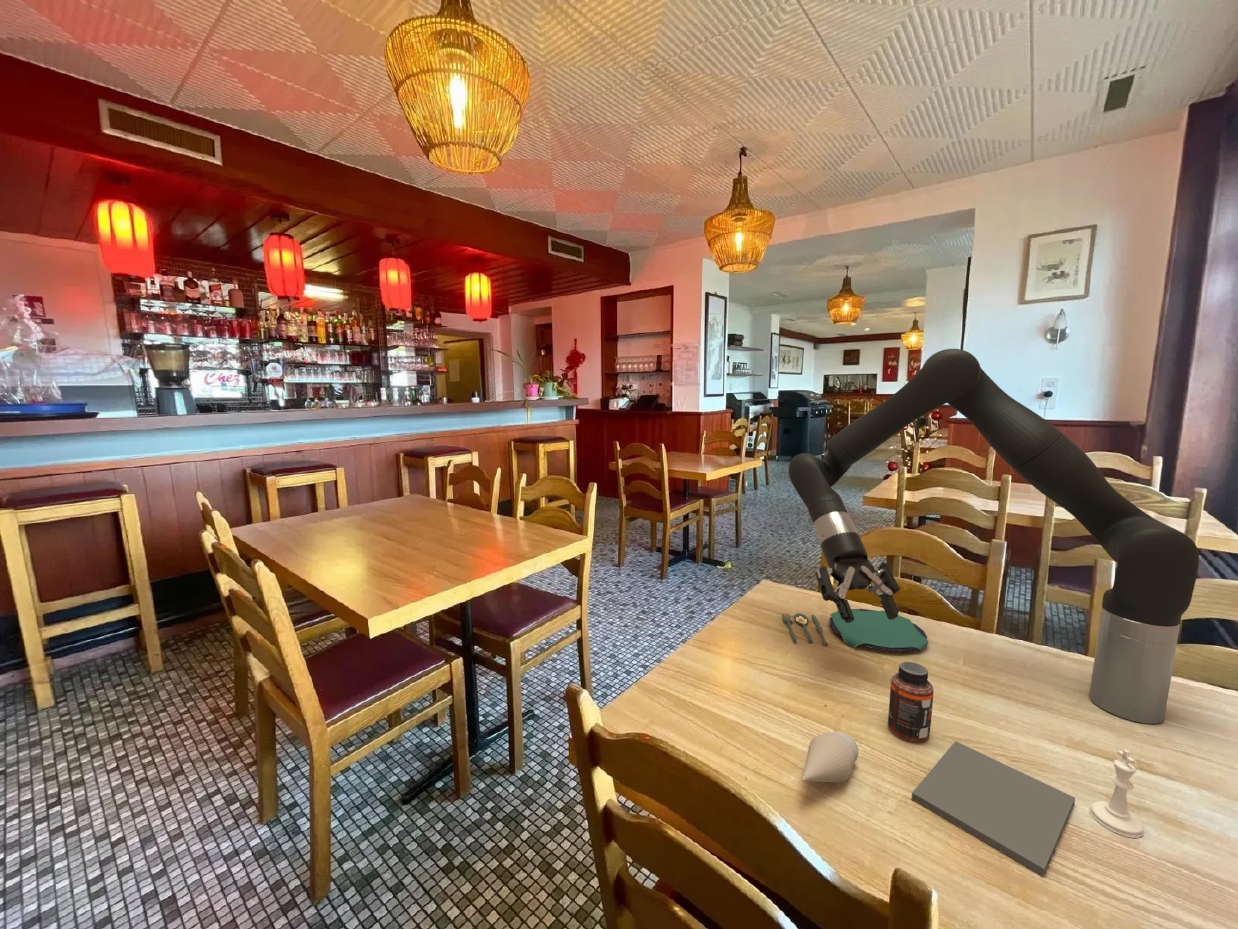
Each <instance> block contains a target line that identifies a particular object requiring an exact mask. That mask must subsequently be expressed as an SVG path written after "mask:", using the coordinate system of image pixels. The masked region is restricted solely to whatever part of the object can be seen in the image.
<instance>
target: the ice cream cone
mask: <svg viewBox="0 0 1238 929" xmlns="http://www.w3.org/2000/svg"><path fill="white" fill-rule="evenodd" d="M808 745H809V746H808V748H807V753H806V754H807V755H806V758H805V763H804V768H803V773H802V777H801V782H820V783H821V782H824V783H841V782H845V781H846V780H847V779H849V777H850V774H851V772H852V770H853V769H854V766H855V763H856V761H857V760H858V758H859V747H858V745H857V742H856V741H855V739H854V738H853V737H852V736H851V735H850V734H848V733H847V732H844V731H841V730H836V731H832V732H826V733H823V734H820V735H817V736H814V737H813V738H812V739H811V740H810V743H809V744H808Z"/></svg>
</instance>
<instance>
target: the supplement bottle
mask: <svg viewBox="0 0 1238 929" xmlns="http://www.w3.org/2000/svg"><path fill="white" fill-rule="evenodd" d="M928 678H929V670H928V668H926V667H925V666H924V665H922V664H920V663H917V662H915V661H914V662H913V661H902V662H900V663H899V665H898V671H897V672H896V673H894V674H893V675H892V676H891V680H890V687H889V688H890V692H889V702H888V703H889V705H888V714H887V716H888V717H887V726H888V728H889V730H890V731H891V732H892V733H893V734H894V735H895V736H896V737H898V738H900V739H902V740H905V741H908V742H911V743H925V742H926V741H928V740H929V739H930V734H931V727H932V714H933V702H934V692H935V691H934V689H935V688H934V685H933V684H932V683H931V682H930V681H929V680H928Z"/></svg>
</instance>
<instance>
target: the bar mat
mask: <svg viewBox="0 0 1238 929" xmlns="http://www.w3.org/2000/svg"><path fill="white" fill-rule="evenodd" d="M911 800H912V801H914V802H915V803H917V804H918V805H921V806H923V807H924V808H926V809H928V810H929V811H932V812H933V813H934V814H936V815H938V816H939V817H941V818H943V819H945V820H947V822H949V823H951V824H953V825H955V826H957V827H958V828H960V829H962V830H963V831H965V832H967V833H968V834H970V835H972V836H974V837H975V838H977V839H979V840H980V841H982V842H983V843H986V844H987V845H989V846H990V847H993V848H994V849H996V850H997V851H998V852H1000V853H1002V854H1004V855H1005V856H1007V857H1009V858H1011V859H1012V860H1014V861H1016V862H1018V863H1019V864H1021V865H1022V866H1024V867H1025V868H1028V869H1029V870H1031V871H1033V872H1034V873H1036V874H1038V875H1039V876H1041V877H1045V874H1046V873H1047V870H1048V868H1049V864H1050V862H1051V860H1052V858H1053V855H1054V853H1055V851H1056V849H1057V845H1058V843H1059V841H1060V840H1061V837H1062V834H1063V832H1064V831H1065V830H1064V829H1065V827H1066V825H1067V823H1068V820H1069V819H1070V816H1071V813H1072V811H1073V808H1074V806H1075V802H1076V797H1075V796H1072V795H1070V794H1068V793H1066V792H1065V791H1062V790H1059V789H1058V788H1056V787H1054V786H1052V785H1050V784H1047V783H1045V782H1042V781H1041V780H1039V779H1036V778H1034V777H1032V776H1030V775H1028V774H1026V773H1024V772H1022V771H1019V770H1017V769H1016V768H1013V767H1012V766H1009V765H1008V764H1005V763H1003V762H1001V761H1000V760H996V759H994V758H992V757H990V756H988V755H986V754H984V753H982V752H980V751H977V750H975V749H973V748H972V747H969V746H967V745H966V744H963V743H961V742H959V741H956V740H955V741H954V742H953V743H952V744H951V746H950V747H949V748H948V749H947V750H946V752H945V753H944V754H943V755H942V756H941V758H940V759H939V760H937V763H936V764H935V765H934V766H933V767H932V768H931V770H930V771H929V772H928V773H927V775H926V776H924V778H923V779H922V781H920V783H919V784H917V786H916V787H915V789H914V790H913V791H912V792H911Z"/></svg>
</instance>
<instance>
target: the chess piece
mask: <svg viewBox="0 0 1238 929" xmlns="http://www.w3.org/2000/svg"><path fill="white" fill-rule="evenodd" d="M1116 754H1117V755H1118V756H1119V757H1120V758H1121V759H1115V760H1113V761H1112V762H1113V767H1114V770H1115V773H1116V774H1113V775H1111V776H1110V777H1109V779H1110V781H1111V782H1112V783H1113V784H1114V785H1115V786H1114V790H1113V793H1112V794H1111V797H1110V800H1109V802H1107V801H1103V800H1100V801H1099V800H1098V801H1093V802H1092V803H1091V804H1090V808H1089V814H1090V815H1091V816H1092V818H1093V819H1094V820H1095V821H1096V822H1098V823H1099V824H1100V825H1101V826H1103V827H1104V828H1106V829H1108V830H1109V831H1111V832H1112V833H1115V834H1118V835H1120V836H1123V837H1126V838H1133V839H1138V838H1141V837H1143V836H1144V832H1145V831H1144V826H1143V823H1142V822H1141V820H1139V818H1138V817H1136V816H1135V814H1133V813H1132V812H1130V811H1129V810H1128V802H1127V800H1128V799H1127V797H1128V796H1127V792H1128V791H1127V790H1134V789H1135V786H1134V783H1133V782H1132V781H1131V780H1130V779H1131V778H1132V776H1134V774H1136V772H1137V769H1136V767H1135V766H1134V765H1133V764H1136V763H1135V762H1136V760H1135V759H1133V758H1132V757H1131V751H1129V750H1128V749H1123V750H1117V753H1116Z"/></svg>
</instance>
